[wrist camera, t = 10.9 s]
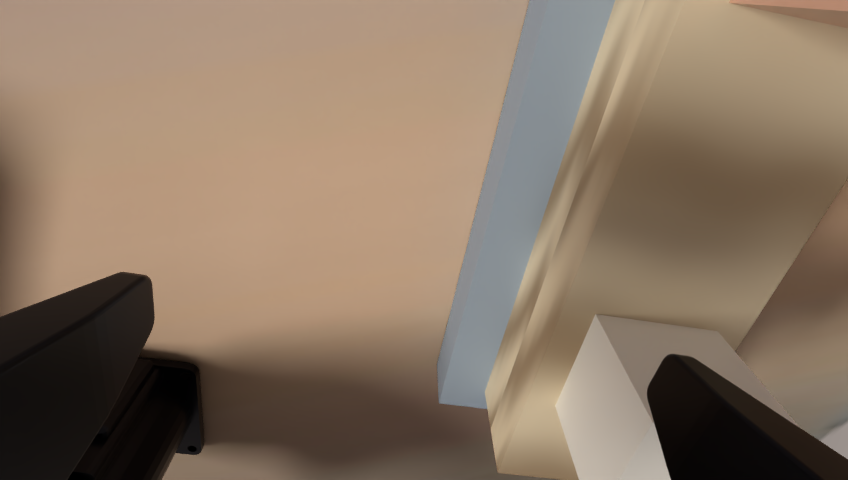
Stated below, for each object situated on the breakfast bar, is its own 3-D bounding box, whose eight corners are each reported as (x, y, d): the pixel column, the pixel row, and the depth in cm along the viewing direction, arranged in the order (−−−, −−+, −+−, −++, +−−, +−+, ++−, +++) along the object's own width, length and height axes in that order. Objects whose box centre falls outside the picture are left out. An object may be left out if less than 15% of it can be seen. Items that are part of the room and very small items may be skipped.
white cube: (664, 418, 17) (730, 536, 13) (555, 405, 16) (592, 523, 13) (717, 331, 15) (811, 441, 11) (595, 314, 14) (652, 422, 11)
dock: (623, 387, 25) (642, 427, 23) (437, 364, 24) (438, 403, 22) (989, -311, 13) (1110, -373, 10) (635, -416, 12) (686, -507, 9)
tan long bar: (609, 407, 22) (646, 488, 18) (484, 392, 21) (497, 472, 18) (996, -334, 11) (1280, -489, 7) (750, -407, 10) (928, -615, 7)
